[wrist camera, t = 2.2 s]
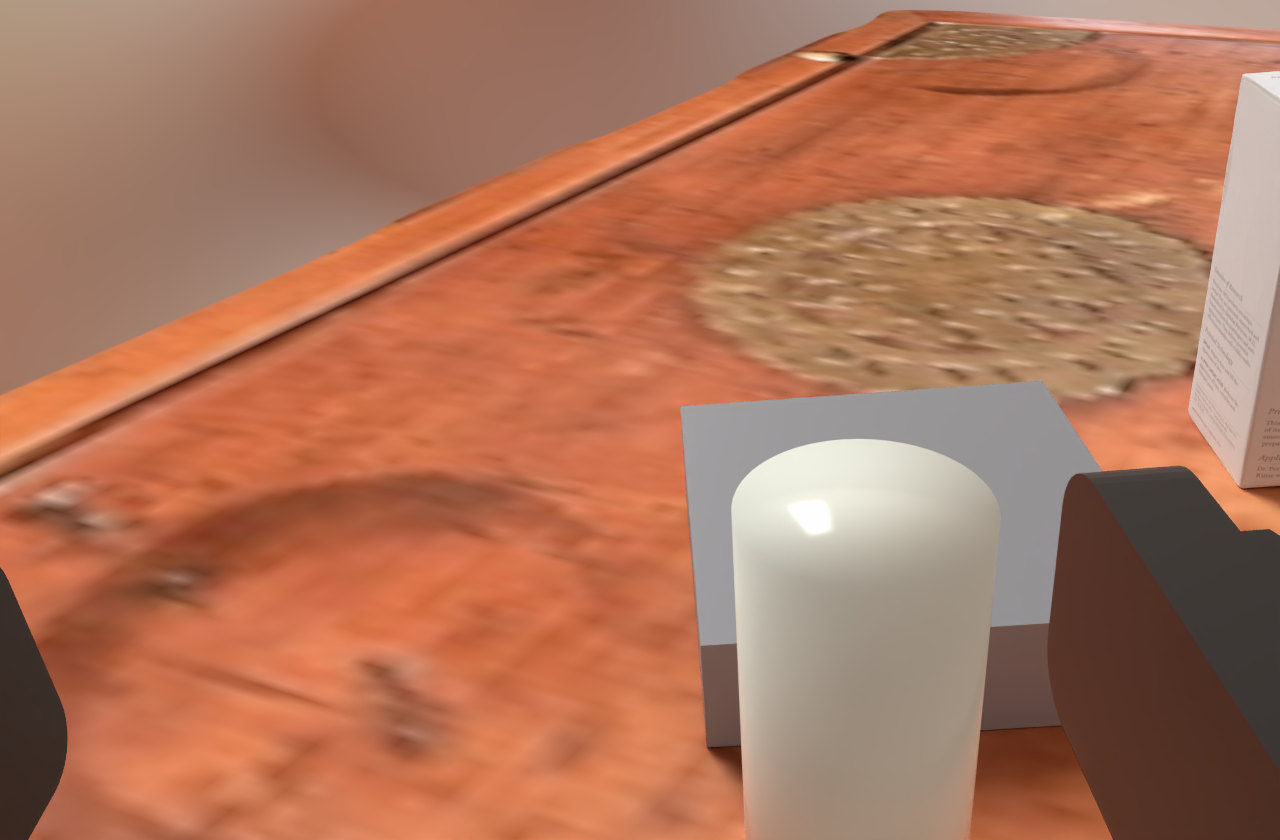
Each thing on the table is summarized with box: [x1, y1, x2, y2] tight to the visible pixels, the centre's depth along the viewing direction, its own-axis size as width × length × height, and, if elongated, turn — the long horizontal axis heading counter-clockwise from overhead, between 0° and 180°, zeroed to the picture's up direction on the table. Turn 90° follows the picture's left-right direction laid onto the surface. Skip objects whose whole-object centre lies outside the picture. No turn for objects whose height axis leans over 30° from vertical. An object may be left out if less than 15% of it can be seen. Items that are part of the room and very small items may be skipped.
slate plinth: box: [680, 381, 1102, 747], centre depth 40 cm, size 14×14×4 cm
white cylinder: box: [731, 439, 1001, 840], centre depth 25 cm, size 5×5×14 cm
